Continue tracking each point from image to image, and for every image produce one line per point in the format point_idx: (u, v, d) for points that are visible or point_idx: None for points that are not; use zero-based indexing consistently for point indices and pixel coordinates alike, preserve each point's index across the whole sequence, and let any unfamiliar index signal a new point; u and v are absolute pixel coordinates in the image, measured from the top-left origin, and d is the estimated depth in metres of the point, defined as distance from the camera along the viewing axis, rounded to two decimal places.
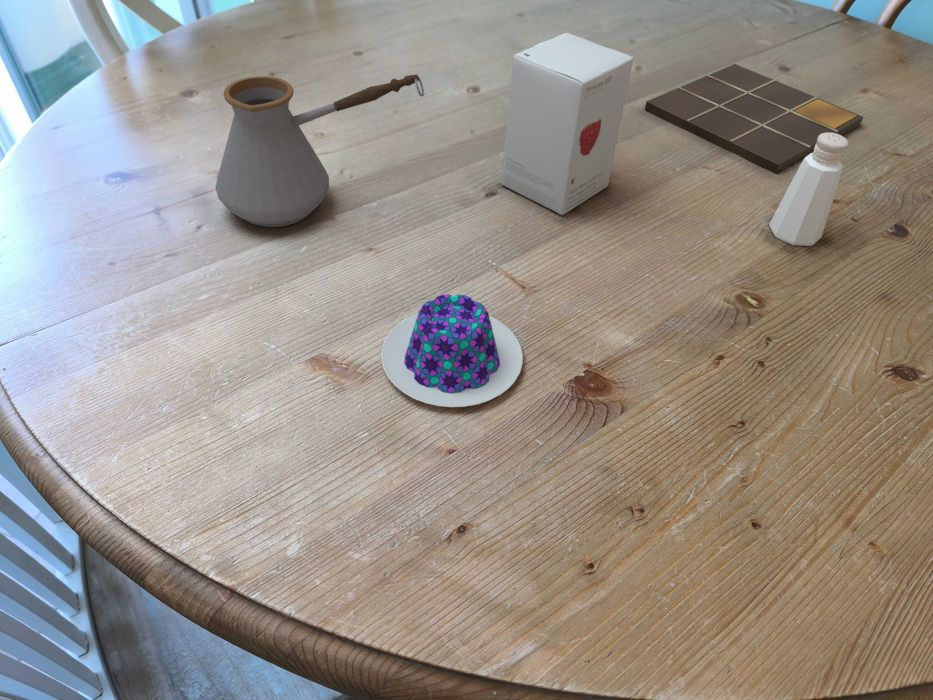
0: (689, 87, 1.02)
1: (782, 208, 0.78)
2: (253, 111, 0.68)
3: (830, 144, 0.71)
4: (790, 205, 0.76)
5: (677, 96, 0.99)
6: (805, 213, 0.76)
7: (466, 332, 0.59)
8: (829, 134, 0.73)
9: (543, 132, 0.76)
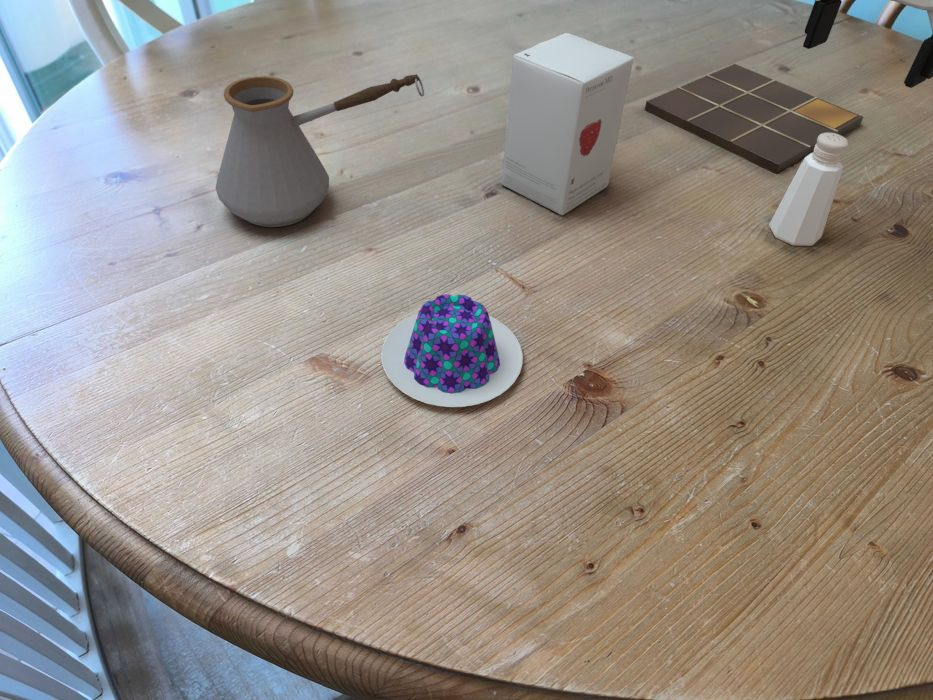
0: (689, 87, 1.02)
1: (782, 208, 0.78)
2: (253, 111, 0.68)
3: (830, 144, 0.71)
4: (790, 205, 0.76)
5: (677, 96, 0.99)
6: (805, 213, 0.76)
7: (466, 332, 0.59)
8: (829, 134, 0.73)
9: (543, 132, 0.76)
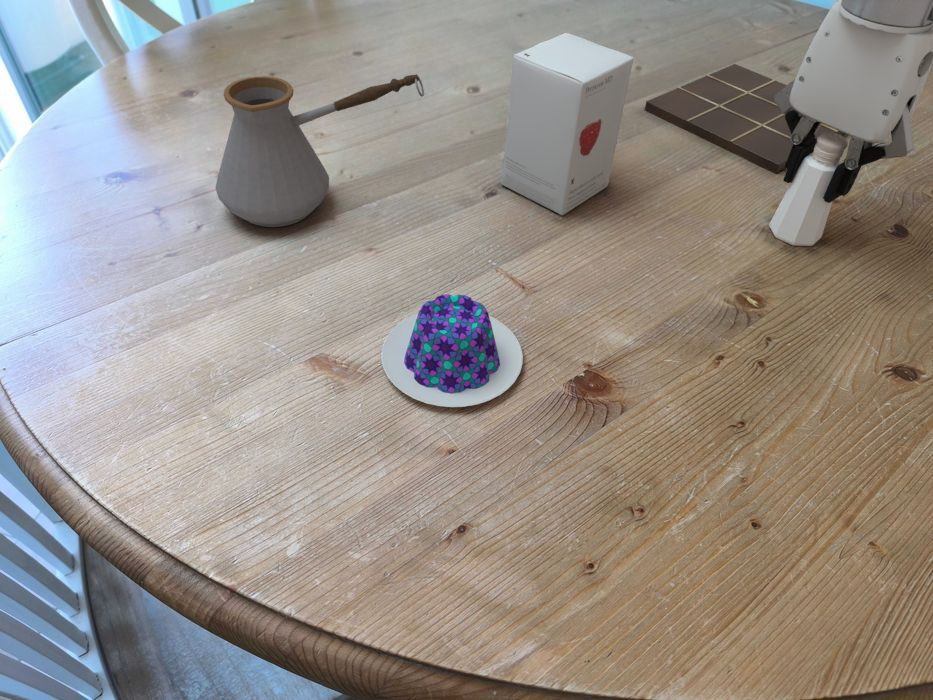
0: (689, 87, 1.02)
1: (782, 208, 0.78)
2: (253, 111, 0.68)
3: (830, 144, 0.71)
4: (790, 205, 0.76)
5: (677, 96, 0.99)
6: (805, 213, 0.76)
7: (466, 332, 0.59)
8: (828, 134, 0.73)
9: (543, 132, 0.76)
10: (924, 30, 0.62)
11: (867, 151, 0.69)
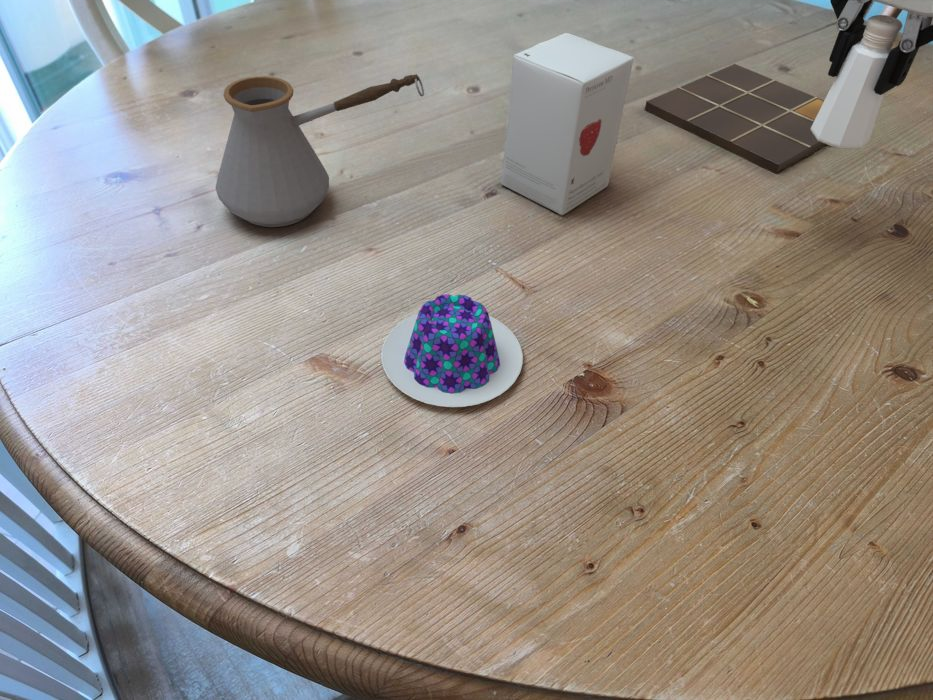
0: (689, 87, 1.02)
1: (826, 107, 0.70)
2: (253, 112, 0.68)
3: (882, 25, 0.64)
4: (836, 102, 0.69)
5: (677, 96, 0.99)
6: (853, 109, 0.68)
7: (466, 332, 0.59)
8: (880, 16, 0.65)
9: (543, 132, 0.76)
10: None
11: (926, 29, 0.62)
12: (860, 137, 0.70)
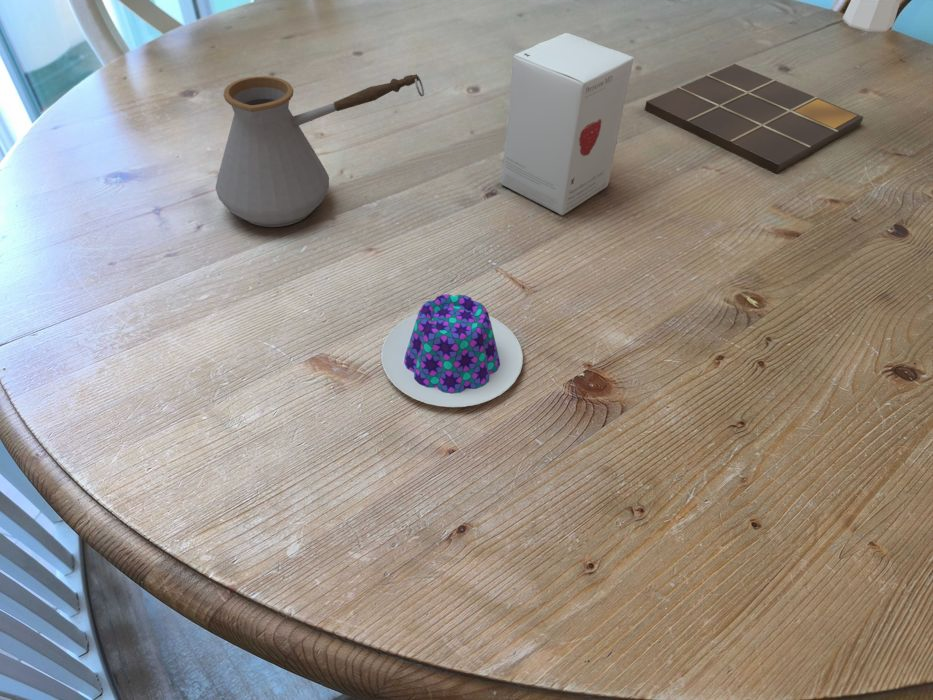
0: (689, 87, 1.02)
1: None
2: (253, 111, 0.68)
3: None
4: None
5: (677, 96, 0.99)
6: None
7: (466, 332, 0.59)
8: None
9: (543, 132, 0.76)
10: None
11: None
12: (886, 21, 0.83)
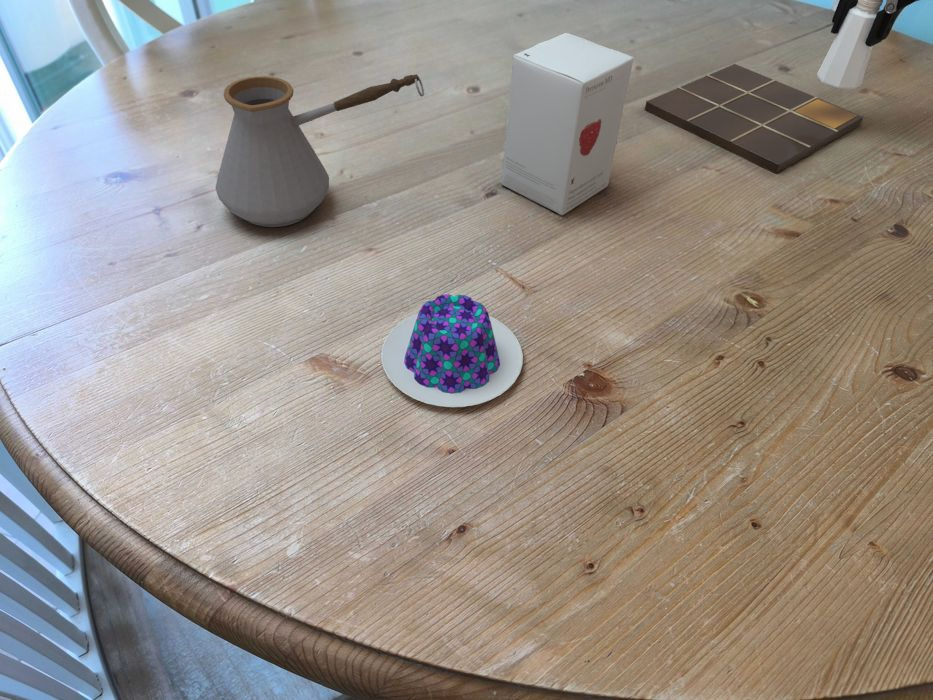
0: (689, 87, 1.02)
1: (829, 57, 0.92)
2: (253, 111, 0.68)
3: None
4: (836, 52, 0.91)
5: (677, 96, 0.99)
6: (849, 57, 0.90)
7: (466, 332, 0.59)
8: None
9: (543, 132, 0.76)
10: None
11: None
12: (854, 80, 0.92)
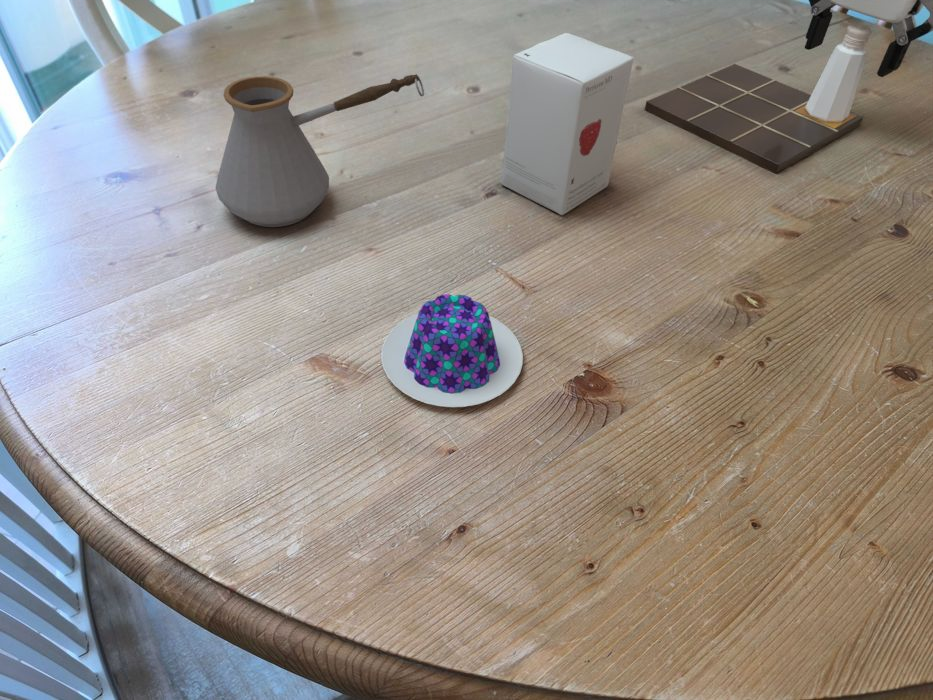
0: (689, 87, 1.02)
1: (817, 91, 0.95)
2: (253, 111, 0.68)
3: (858, 31, 0.89)
4: (824, 87, 0.94)
5: (677, 96, 0.99)
6: (836, 92, 0.93)
7: (466, 332, 0.59)
8: (856, 25, 0.90)
9: (543, 132, 0.76)
10: None
11: (916, 28, 0.85)
12: (841, 113, 0.95)
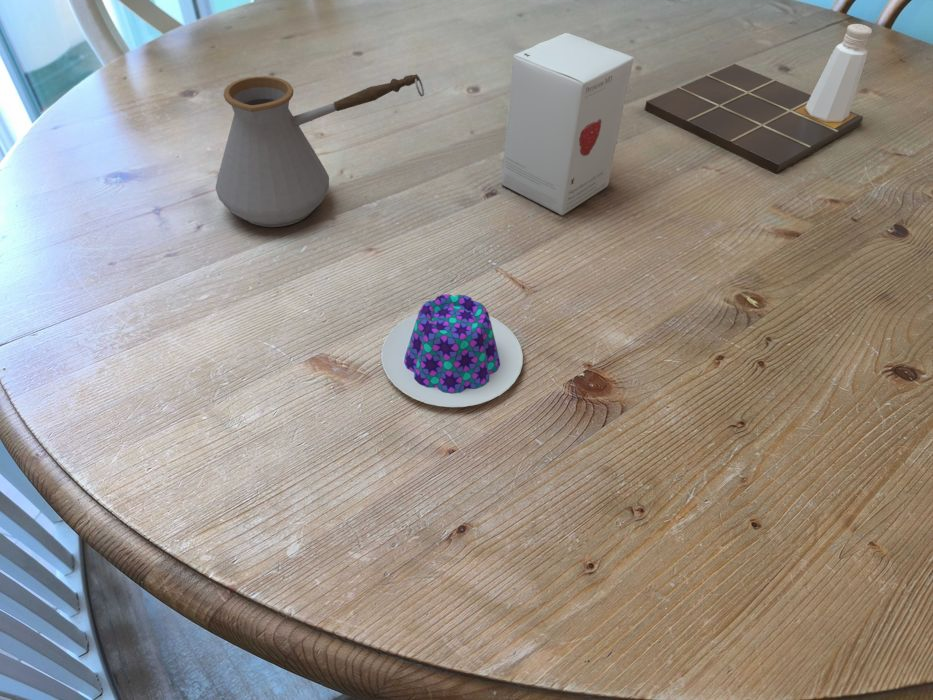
0: (689, 87, 1.02)
1: (817, 91, 0.95)
2: (253, 111, 0.68)
3: (858, 31, 0.89)
4: (824, 87, 0.94)
5: (677, 96, 0.99)
6: (836, 92, 0.93)
7: (466, 332, 0.59)
8: (856, 25, 0.90)
9: (543, 132, 0.76)
10: None
11: None
12: (841, 113, 0.95)
